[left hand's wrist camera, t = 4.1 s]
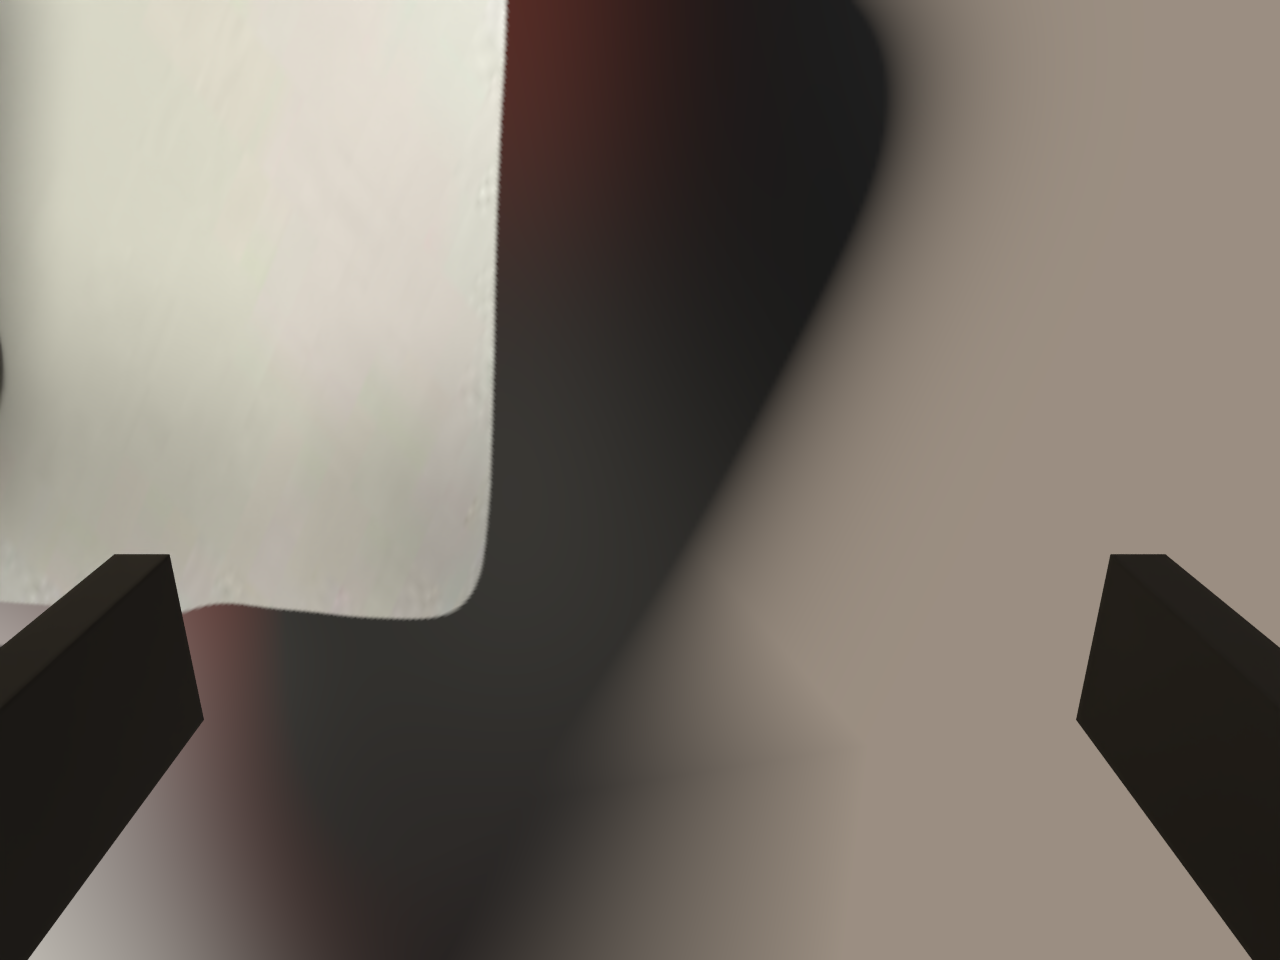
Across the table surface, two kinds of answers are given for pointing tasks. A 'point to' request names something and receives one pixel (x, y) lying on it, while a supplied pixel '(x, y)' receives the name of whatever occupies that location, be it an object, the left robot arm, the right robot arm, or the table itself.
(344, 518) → the table surface
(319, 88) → the table surface
